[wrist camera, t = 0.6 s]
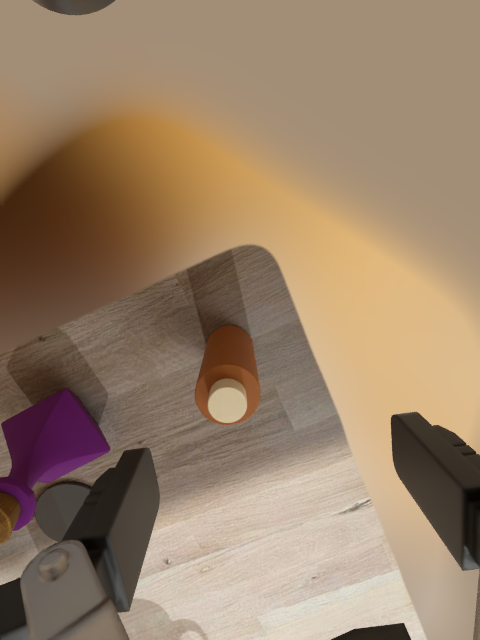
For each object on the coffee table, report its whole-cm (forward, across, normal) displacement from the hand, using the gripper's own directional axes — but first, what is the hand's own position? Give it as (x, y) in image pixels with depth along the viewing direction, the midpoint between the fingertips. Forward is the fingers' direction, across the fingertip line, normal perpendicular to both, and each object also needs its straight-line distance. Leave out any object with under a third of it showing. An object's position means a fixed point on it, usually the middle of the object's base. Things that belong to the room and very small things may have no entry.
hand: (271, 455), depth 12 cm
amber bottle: (+24, +2, +3) cm, 24 cm away
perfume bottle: (+24, +20, +9) cm, 32 cm away
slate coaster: (+24, +22, +20) cm, 38 cm away
